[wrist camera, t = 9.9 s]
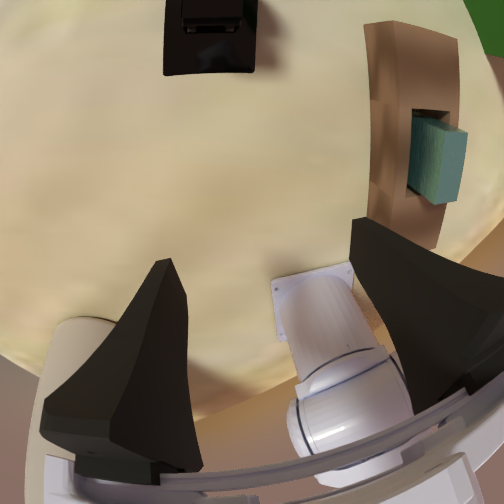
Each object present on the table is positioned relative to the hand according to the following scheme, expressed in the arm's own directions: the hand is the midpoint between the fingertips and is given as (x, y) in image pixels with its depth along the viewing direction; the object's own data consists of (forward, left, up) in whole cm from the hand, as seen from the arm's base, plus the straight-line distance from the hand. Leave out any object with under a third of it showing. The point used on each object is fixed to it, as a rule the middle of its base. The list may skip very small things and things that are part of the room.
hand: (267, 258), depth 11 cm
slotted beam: (+1, -13, -9) cm, 16 cm away
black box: (+12, 0, -10) cm, 16 cm away
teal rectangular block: (+1, -13, -10) cm, 16 cm away
